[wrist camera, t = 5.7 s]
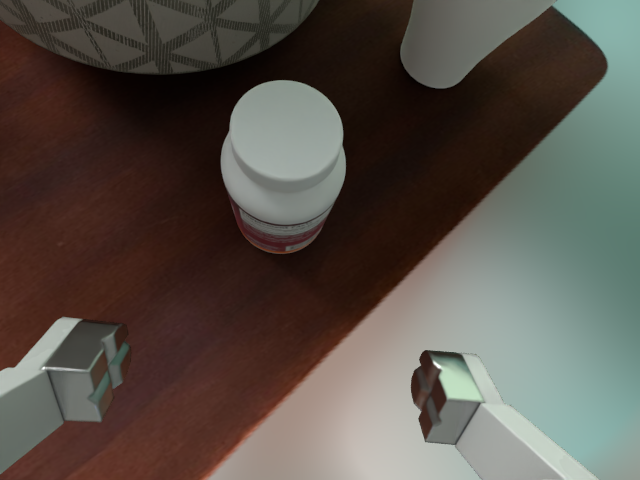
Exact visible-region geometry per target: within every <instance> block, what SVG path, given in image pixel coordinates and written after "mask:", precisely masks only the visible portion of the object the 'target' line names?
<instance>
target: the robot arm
mask: <svg viewBox="0 0 640 480" xmlns="http://www.w3.org/2000/svg"><path fill="white" fill-rule="evenodd" d="M127 336H128V329H127V325H126V324H123V323H115V322H106V321H98V320H89V319H77V318H68V317H62V318H60V319H58V320H57V321H56V322H55V323H54V324H53V325H52V326H51V327H50V328H49V330H48V331H47V332H46V333H45V334H44V335H43V336H42V337H41V339H40V340H39V341H38V342H37V343H36V344H35V345H34V347H33V348H32V349H31V350H30V351H29V352H28V353H27V354H26V356H25V357H24V358H23V359H22V360H21V361H20V362H19V364H18V365H17V366H16V367H15V368H6V369H4V370H2V371H0V474H1V473H2V472H4V471H5V470H6V469H7V468H9V467H10V466H11V465H12V464H14V463H15V462H16V461H17V460H19V459H20V458H21V457H22V456H24V455H25V454H26V453H27V452H29V451H30V450H31V449H32V448H33V447H35V446H36V445H37V444H38V443H40V442H41V441H42V440H43V439H45V438H46V437H47V436H48V435H50V434H51V433H52V432H53V431H55V430H56V429H57V428H58V427H60V426H61V425H62V424H63V423H64V421H84V422H102V420H103V418H104V416H105V414H106V412H107V410H108V409H109V407H110V405H111V403H112V401H113V399H114V393H113V389H114V388H115V387H117V386H118V385H119V384H121V383H122V382H123V380H124V378H125V376H126V374H127V372H128V369H129V366H130V362H131V347H130V345H129V344H128V343H127V342H125V339H126V337H127ZM419 360H420V363H421V366H420V367H418V368H417V369H416V370H415V371H414V373H413V376H412V380H411V393H412V398H413V402H414V404H415V405H416V406H417V407H418V408H419V409H420V410H421V411H422V412H421V414H420V416H419V422H420V426H421V429H422V433H423V436H424V439H425V442H430V443H441V444H452V445H456V446H455V447H456V448H457V450H458V451H459V452H460V453H461V454H462V456H463V457H464V458H465V459H466V460H467V462H468V463H469V464H470V466H471V467H472V468H473V469H474V471H475V472H476V473H477V474H478V476H479V477H480V478H481V479H482V480H599V479H598V478H597V477H596V476H595V475H593V474H592V473H591V472H590V471H588V470H587V469H586V468H585V467H584V466H583V465H581V464H580V463H579V462H578V461H576V459H574V458H573V457H572V456H571V455H570V454H568V453H567V452H566V451H564V449H562V448H561V447H560V446H559V445H558V444H556V443H555V442H554V441H553V440H552V439H550V438H549V437H548V436H547V435H546V434H544V433H543V432H542V431H541V430H540V429H538V428H537V427H536V426H535V425H534V424H532V423H531V422H530V421H529V420H528V419H526V418H525V417H524V416H523V415H522V414H520V413H519V412H518V411H517V410H516V409H514V408H513V407H512V406H511V405H505V403H504V402H503V399H502V398H501V396H500V394H499V392H498V390H497V388H496V387H495V385H494V383H493V381H492V379H491V377H490V375H489V374H488V372H487V370H486V368H485V366H484V364H483V363H482V361H481V359H480V357H479V356H477V355H476V354H467V353H454V352H442V351H430V350H429V351H428V350H425V351H424V352H423V353H422V354H421V356H420V359H419Z"/></svg>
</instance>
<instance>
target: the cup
mask: <svg viewBox="0 0 640 480" xmlns="http://www.w3.org/2000/svg"><path fill="white" fill-rule="evenodd" d="M555 1H557V0H414V2H413V7H412V12H411V17H410V21H409V24H408V27H407V30H406V32H405V35H404V38H403V41H402V44H401V50H400V56H401V61H402V63H403V65H404V68H405V69H406V71H407V72H408V73H409V74H410V76H411V77H413V78H414V79H415V80H417V81H418V82H420V83H422V84H424V85H426V86H428V87H433V88H448V87H452V86H454V85H456V84H457V83H459V82H460V81H461V80H462V79H463V78H464V77H465V76H466V75H467V74H468V73H469V72H470V71H471V70H472V69H473V67H474V66H475V65H476V64H477V63H478V62H479V61H481V60H482V59H483V58H484V57H485V56H487V55H488V54H489V53H490V52H492V51H493V50H494V49H495V48H496V47H498V46H499V45H500V44H501V43H503V42H504V41H505V40H506V39H508V38H509V37H510V36H512V35H513V34H515V33H516V32H517V31H519V30H520V29H521V28H523V27H524V26H526V25H527V24H528V23H530V22H531V21H532V20H534V19H535V18H536V17H538V16H539V15H540V14H542V13H543V12H544V11H545V10H546V9H547V8H549V7H550V6H551V5H552V4H553V3H555Z"/></svg>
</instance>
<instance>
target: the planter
mask: <svg viewBox="0 0 640 480" xmlns="http://www.w3.org/2000/svg"><path fill="white" fill-rule="evenodd" d="M318 1H319V0H0V20H1V21H3V22H4V23H5V24H7V25H8V26H9V27H11V28H12V29H13V30H15V31H16V32H18V33H19V34H20V35H22V36H24V37H25V38H27V39H29V40H30V41H32V42H34V43H35V44H37V45H39V46H41V47H43V48H45V49H47V50H49V51H51V52H53V53H55V54H58V55H60V56H63V57H66V58H68V59H71V60H74V61H76V62H80V63H83V64H87V65H90V66H94V67H98V68H103V69H108V70H113V71H118V72H126V73H135V74H152V75H167V74H184V73H192V72H201V71H205V70H210V69H215V68H220V67H223V66H227V65H230V64H233V63H237V62H239V61H242V60H244V59H247V58H249V57H252V56H254V55H256V54H258V53H260V52H262V51H264V50H266V49H268V48H270V47H272V46H273V45H275V44H276V43H278V42H279V41H281V40H282V39H284V38H285V37H286V36H288V35H289V34H290V33H291V32H293V31H294V30H295V29H296V28H297V27H298V26H299V25H300V24H301V23H302V22H303V21H304V20H305V19H306V18H307V17H308V15H309V14H310V13H311V12H312V10H313V9H314V8H315V6H316V5H317V3H318Z"/></svg>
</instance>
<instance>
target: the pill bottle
mask: <svg viewBox="0 0 640 480" xmlns="http://www.w3.org/2000/svg"><path fill="white" fill-rule="evenodd" d="M342 142H343V127H342V122H341V119H340V116H339V114H338V112H337V110H336V108H335V107H334V105H333V104H332V103H331V102H330V101H329V99H328V98H327V97H325V96H324V95H323V94H322V93H320V92H319V91H317V90H316V89H314V88H312V87H310V86H308V85H306V84H303V83H300V82H295V81H288V80H277V81H270V82H266V83H263V84H260V85H258V86H256V87H254V88H252V89H251V90H249V91H248V92H247V93H245V94H244V95H243V96H242V97H241V99H240V100H239V101H238V103H237V104H236V106H235V107H234V110H233V112H232V115H231V119H230V131H229V133H228V135H227V136H226V139H225V141H224V144H223V147H222V152H221V171H222V176H223V180H224V184H225V187H226V190H227V193H228V196H229V199H230V202H231V205H232V208H233V212H234V215H235V218H236V221H237V224H238V227H239V228H240V230H241V232H242V233H243V235H244V236H245V238H246V239H247V240H248V241H249V242H250V243H251V244H253V245H254V246H256V247H257V248H259V249H261V250H264V251H266V252H270V253H275V254H286V253H292V252H295V251H298V250H300V249H302V248H304V247H306V246H307V245H309V244H310V243H311V242H312V241H313V240H314V239H315V238H316V237H317V235H318V234H319V232H320V231H321V229H322V227H323V225H324V223H325V221H326V219H327V217H328V215H329V213H330V210H331V209H332V207H333V204H334V203H335V201H336V199H337V197H338V194H339V192H340V190H341V188H342V185H343V182H344V178H345V173H346V159H345V153H344V149H343V146H342Z"/></svg>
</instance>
